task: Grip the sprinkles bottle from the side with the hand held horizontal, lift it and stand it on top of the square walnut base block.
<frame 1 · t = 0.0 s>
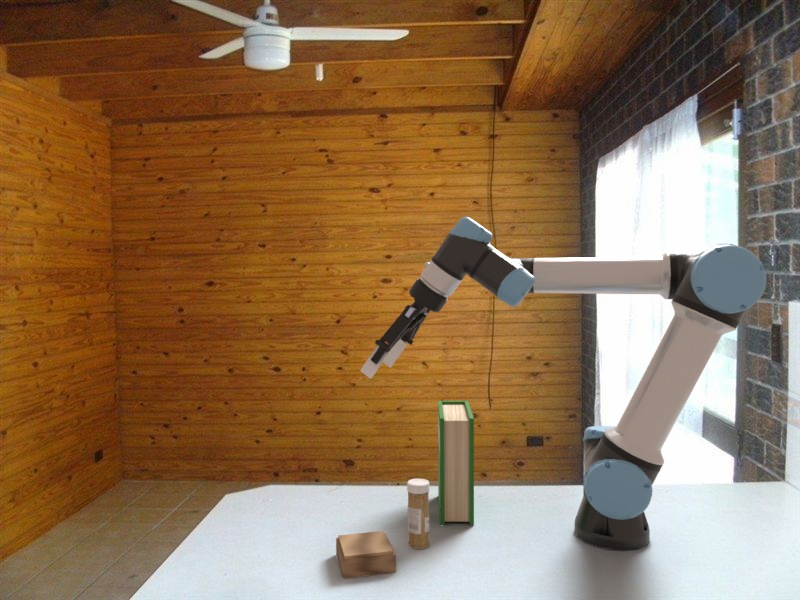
hand: (376, 369, 133), 36 cm above the counter, tool tilted 35°, fingers open, 13 cm apart
hardback book: (455, 510, 149), on the counter
walnut base: (365, 563, 123), on the counter
sprinkles bottle: (418, 546, 131), on the counter
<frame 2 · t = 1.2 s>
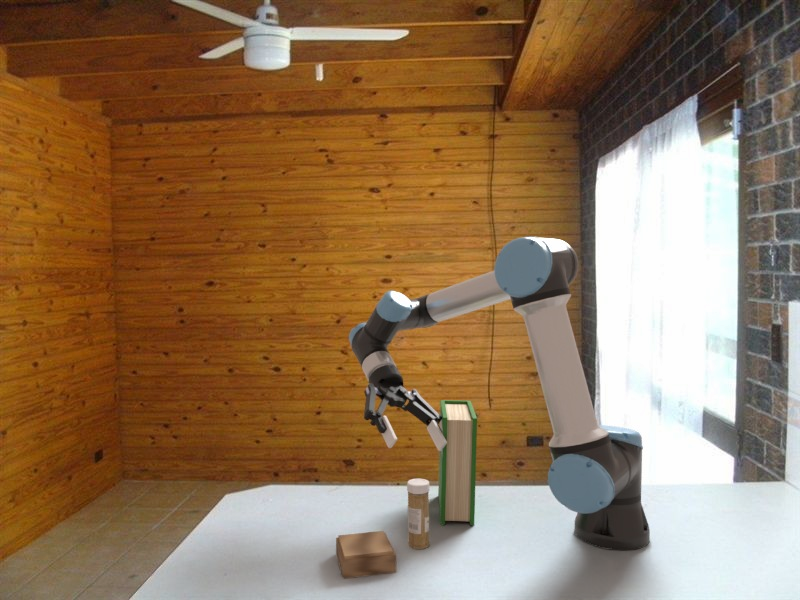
hand: (418, 445, 134), 20 cm above the counter, tool tilted 55°, fingers open, 13 cm apart
nothing on the counter moved.
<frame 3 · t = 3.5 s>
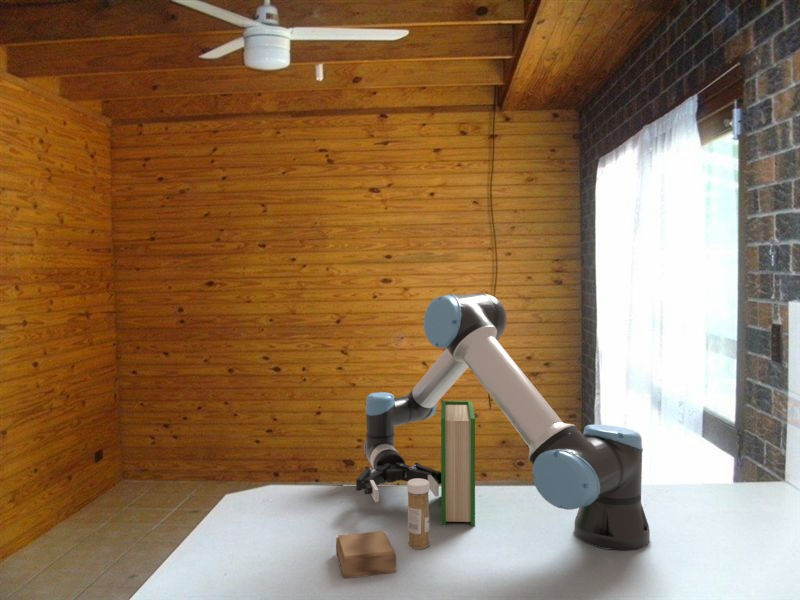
hand: (407, 493, 139), 7 cm above the counter, tool horizontal, fingers open, 13 cm apart
nothing on the counter moved.
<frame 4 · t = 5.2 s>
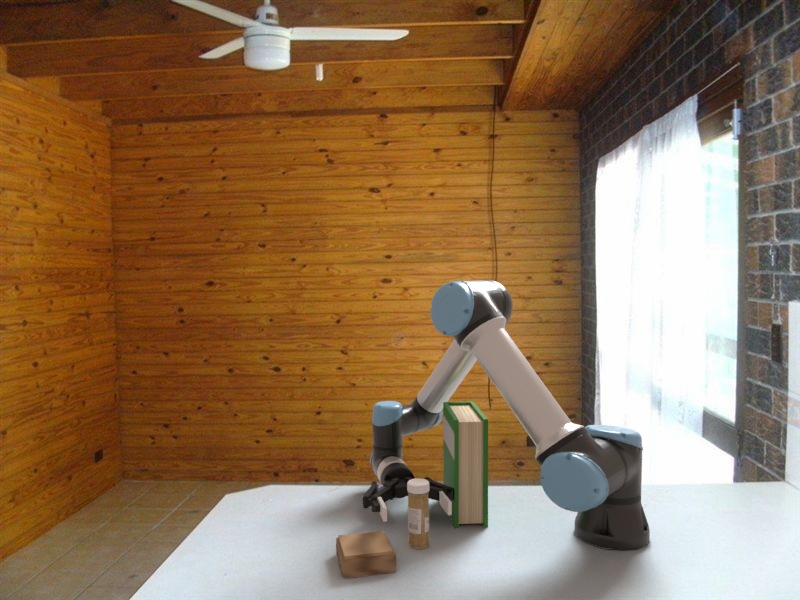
hand: (418, 511, 129), 7 cm above the counter, tool horizontal, fingers open, 13 cm apart
hardback book: (464, 512, 148), on the counter, touching gripper
everything else where it was.
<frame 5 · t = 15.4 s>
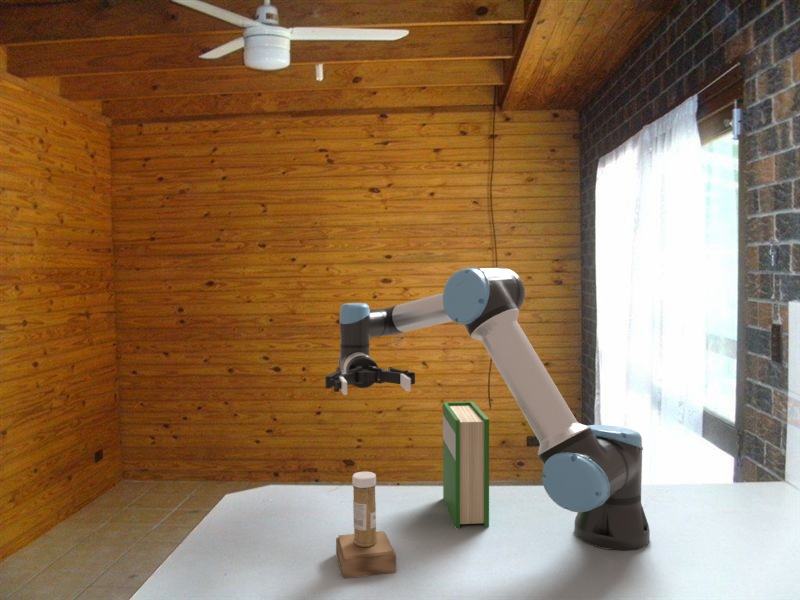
hand: (377, 386, 134), 32 cm above the counter, tool horizontal, fingers open, 13 cm apart
hardback book: (464, 512, 148), on the counter
sprinkles bottle: (365, 543, 123), point 4 cm above the counter, touching walnut base
at the end: sprinkles bottle 0.1 cm from the walnut base (horizontally); sprinkles bottle point 3.8 cm above the counter; sprinkles bottle tilted 0° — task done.
